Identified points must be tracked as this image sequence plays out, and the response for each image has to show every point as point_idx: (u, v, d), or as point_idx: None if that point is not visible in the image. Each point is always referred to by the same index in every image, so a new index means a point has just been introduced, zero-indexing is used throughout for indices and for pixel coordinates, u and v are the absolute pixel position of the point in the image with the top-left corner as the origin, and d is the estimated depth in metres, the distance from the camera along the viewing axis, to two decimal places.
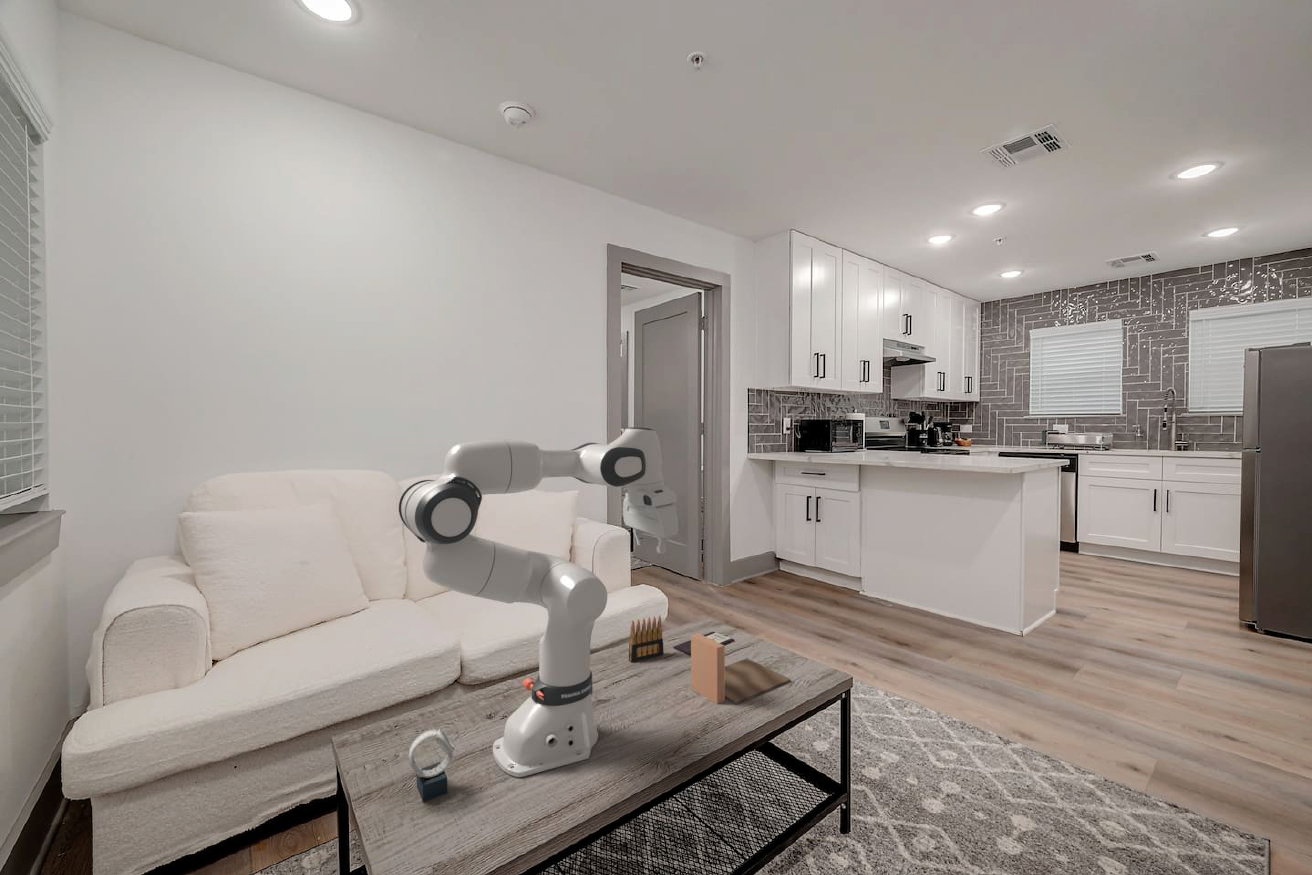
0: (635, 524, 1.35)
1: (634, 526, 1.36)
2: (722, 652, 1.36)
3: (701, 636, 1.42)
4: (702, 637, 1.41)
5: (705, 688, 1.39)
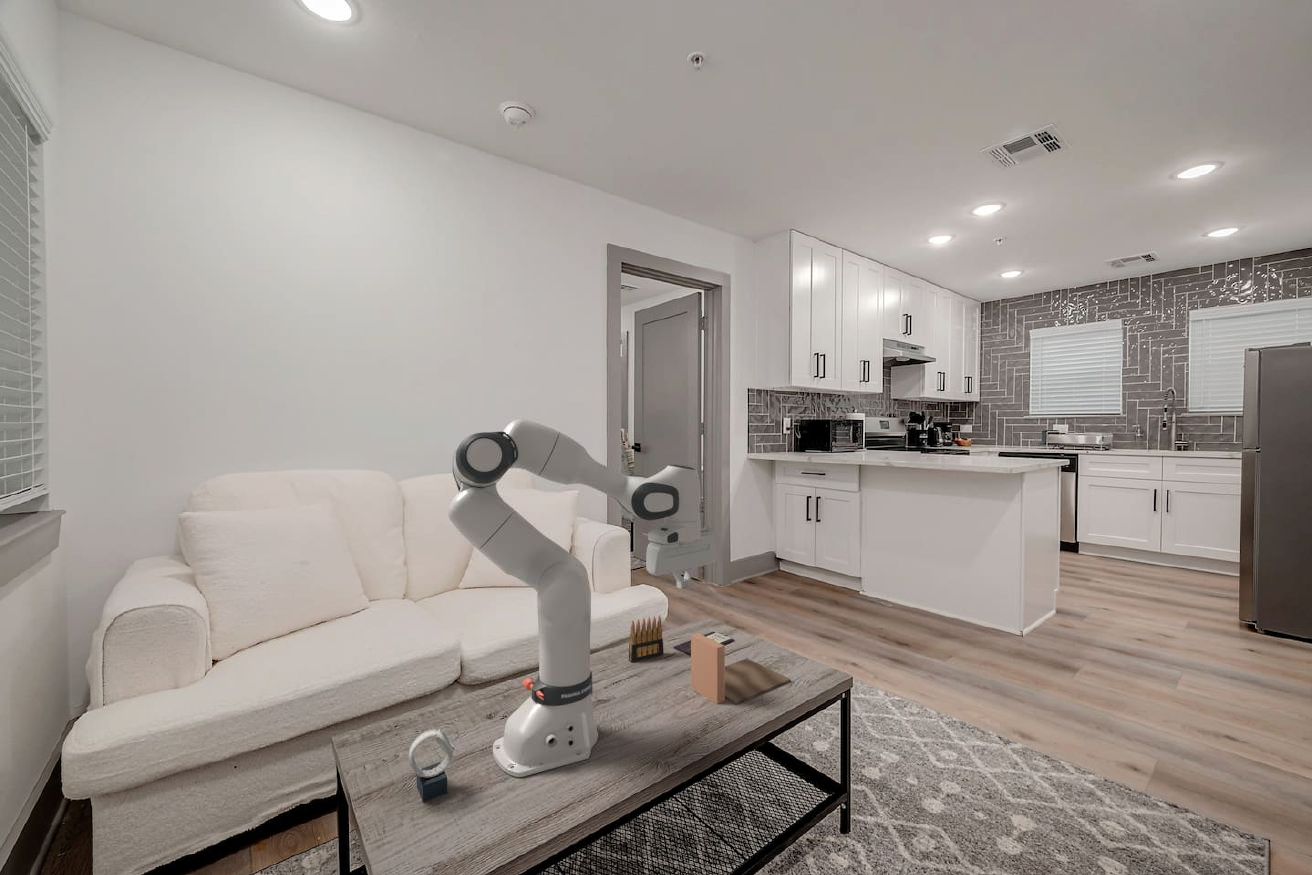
0: None
1: None
2: (722, 652, 1.36)
3: (701, 636, 1.42)
4: (702, 637, 1.41)
5: (705, 688, 1.39)
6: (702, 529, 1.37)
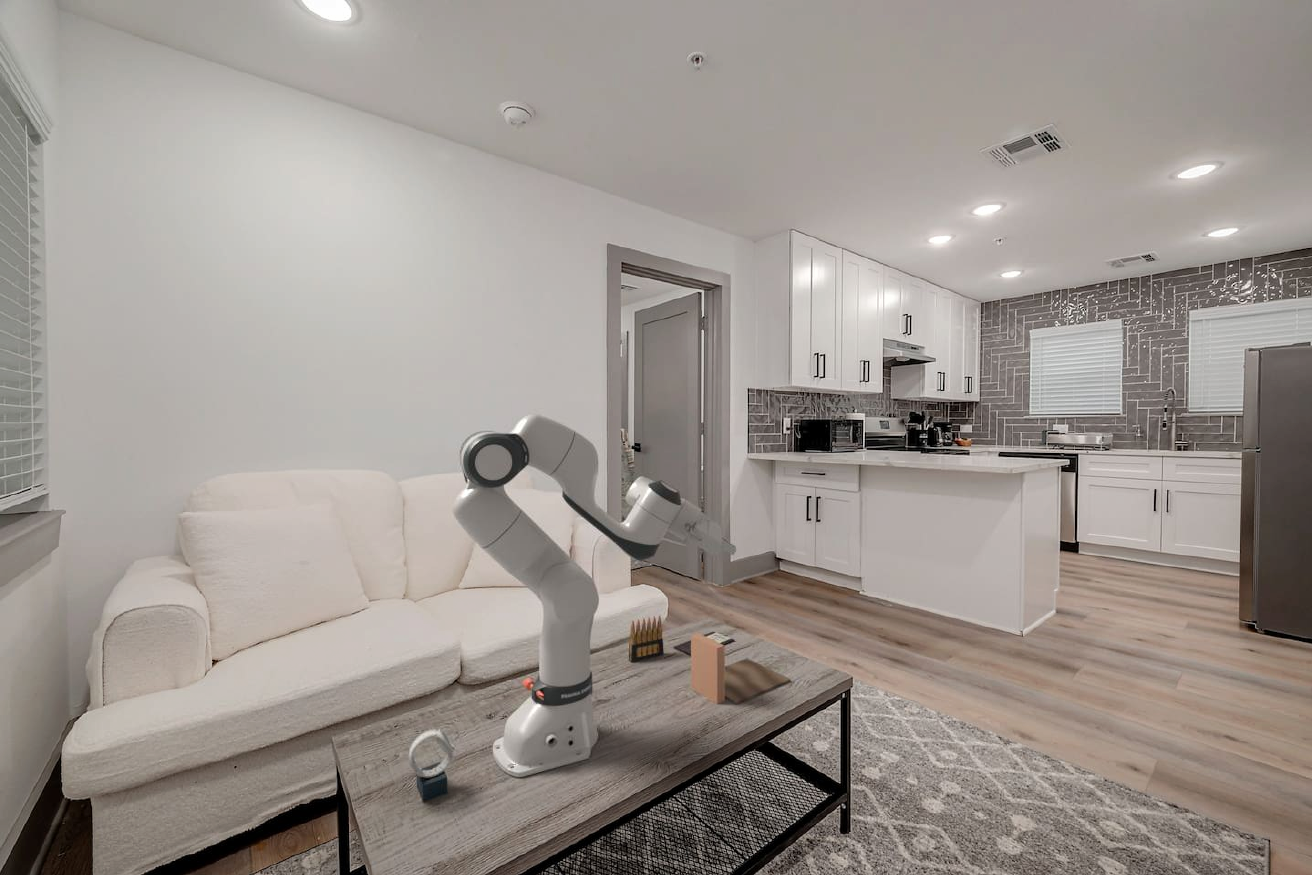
0: (718, 535, 1.31)
1: (720, 537, 1.30)
2: (722, 652, 1.36)
3: (701, 636, 1.42)
4: (702, 637, 1.41)
5: (705, 688, 1.39)
6: None
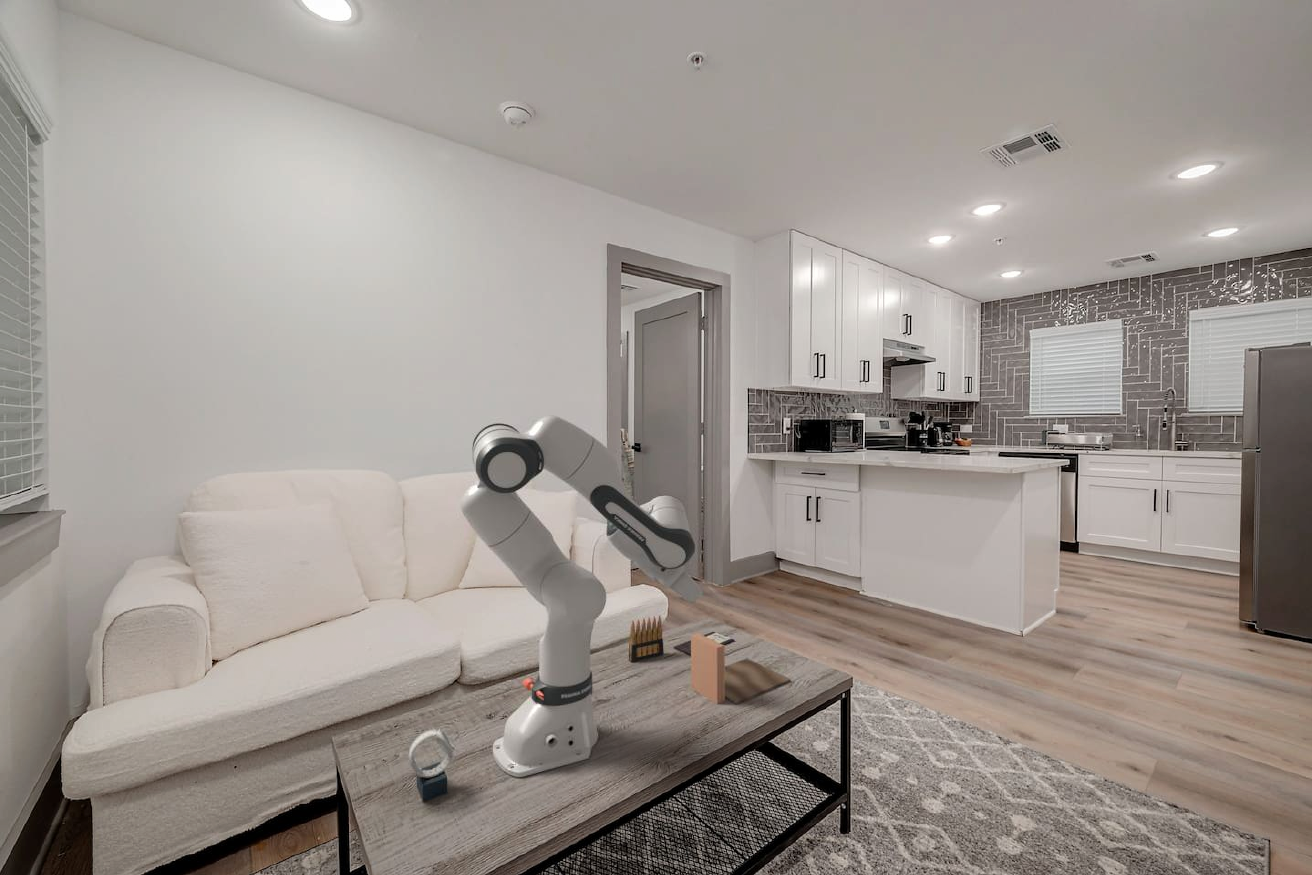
0: None
1: None
2: (722, 652, 1.36)
3: (701, 636, 1.42)
4: (702, 637, 1.41)
5: (705, 688, 1.39)
6: None
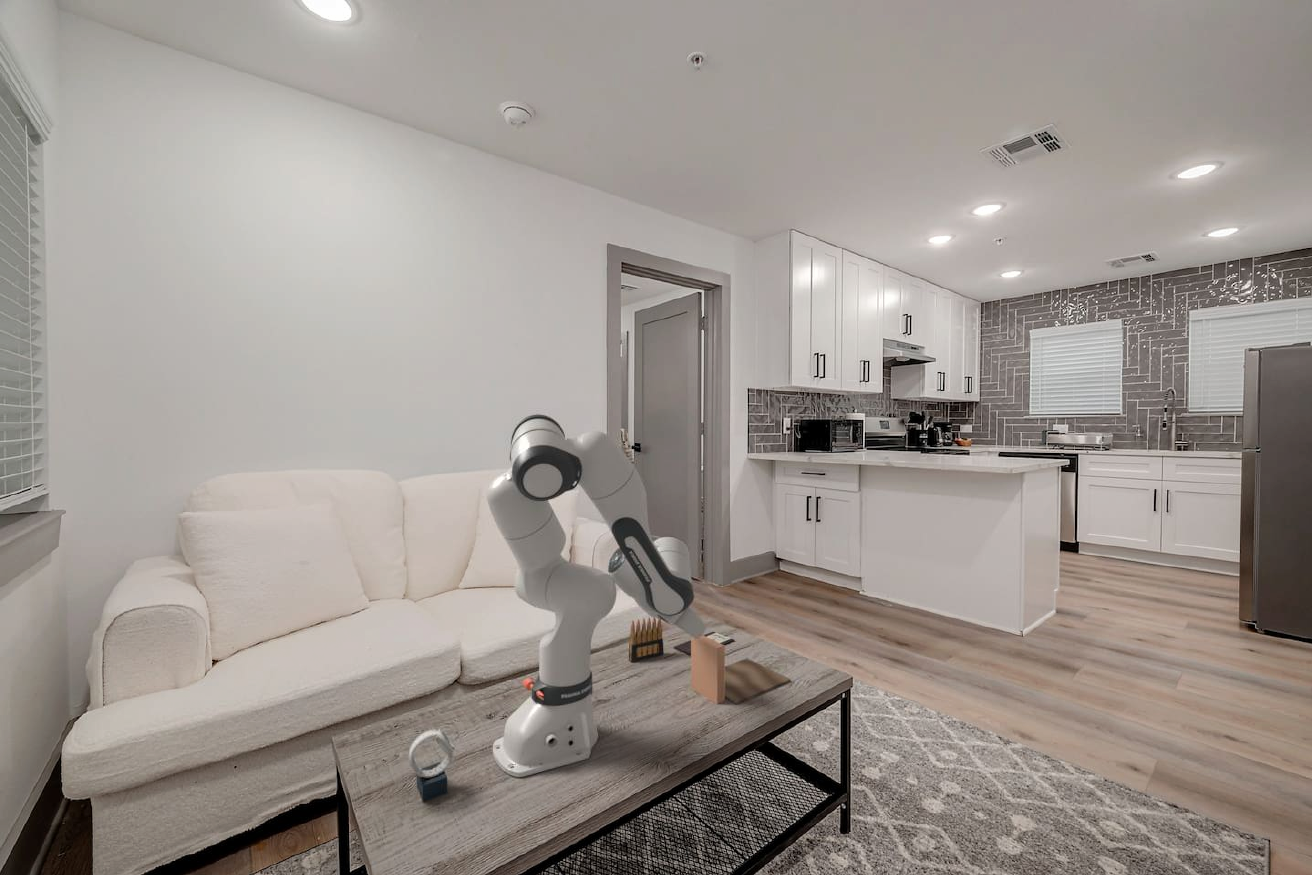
0: None
1: None
2: (722, 652, 1.36)
3: (701, 636, 1.42)
4: (702, 637, 1.41)
5: (705, 688, 1.39)
6: None
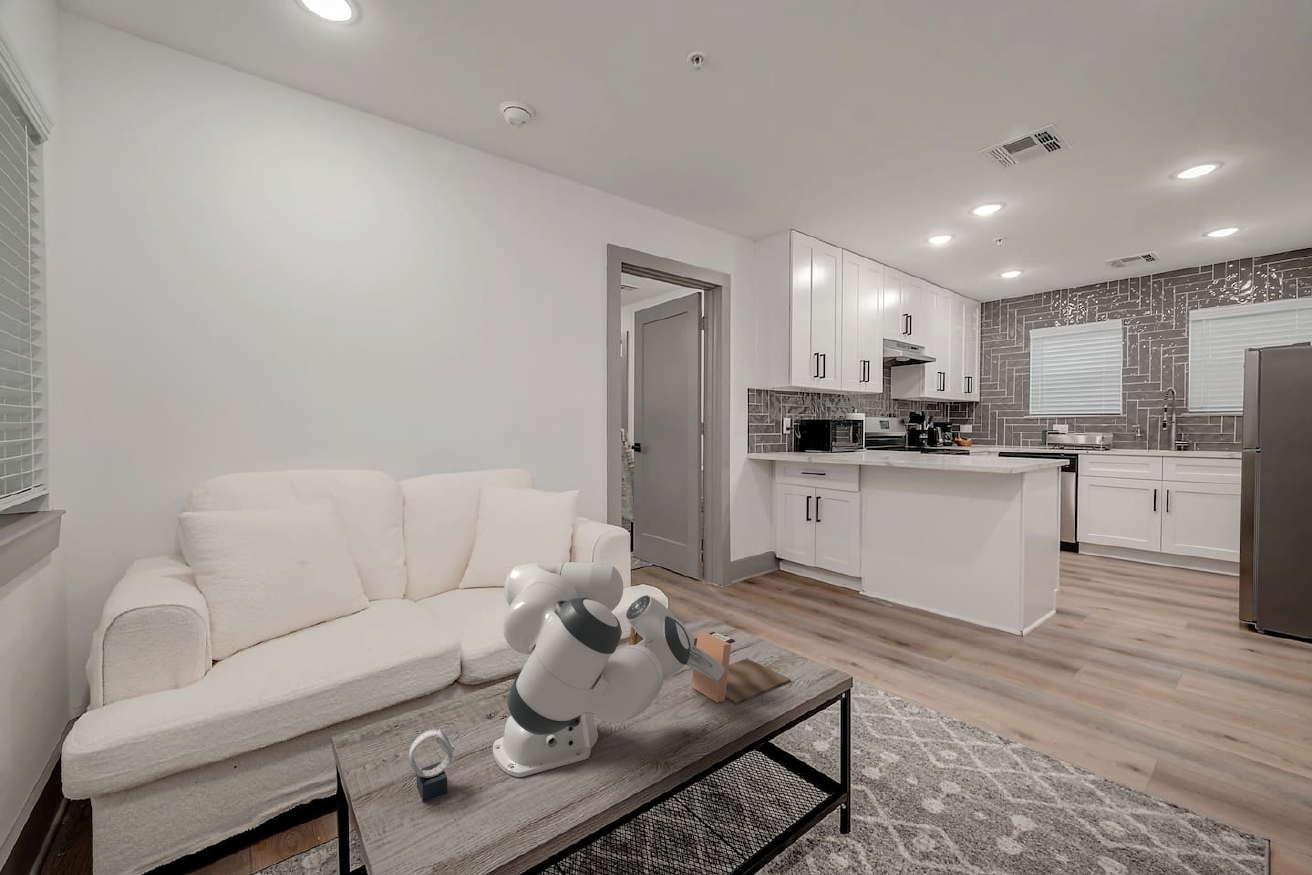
0: None
1: None
2: (728, 651, 1.37)
3: (708, 634, 1.43)
4: (709, 635, 1.42)
5: (706, 686, 1.39)
6: (691, 653, 1.28)
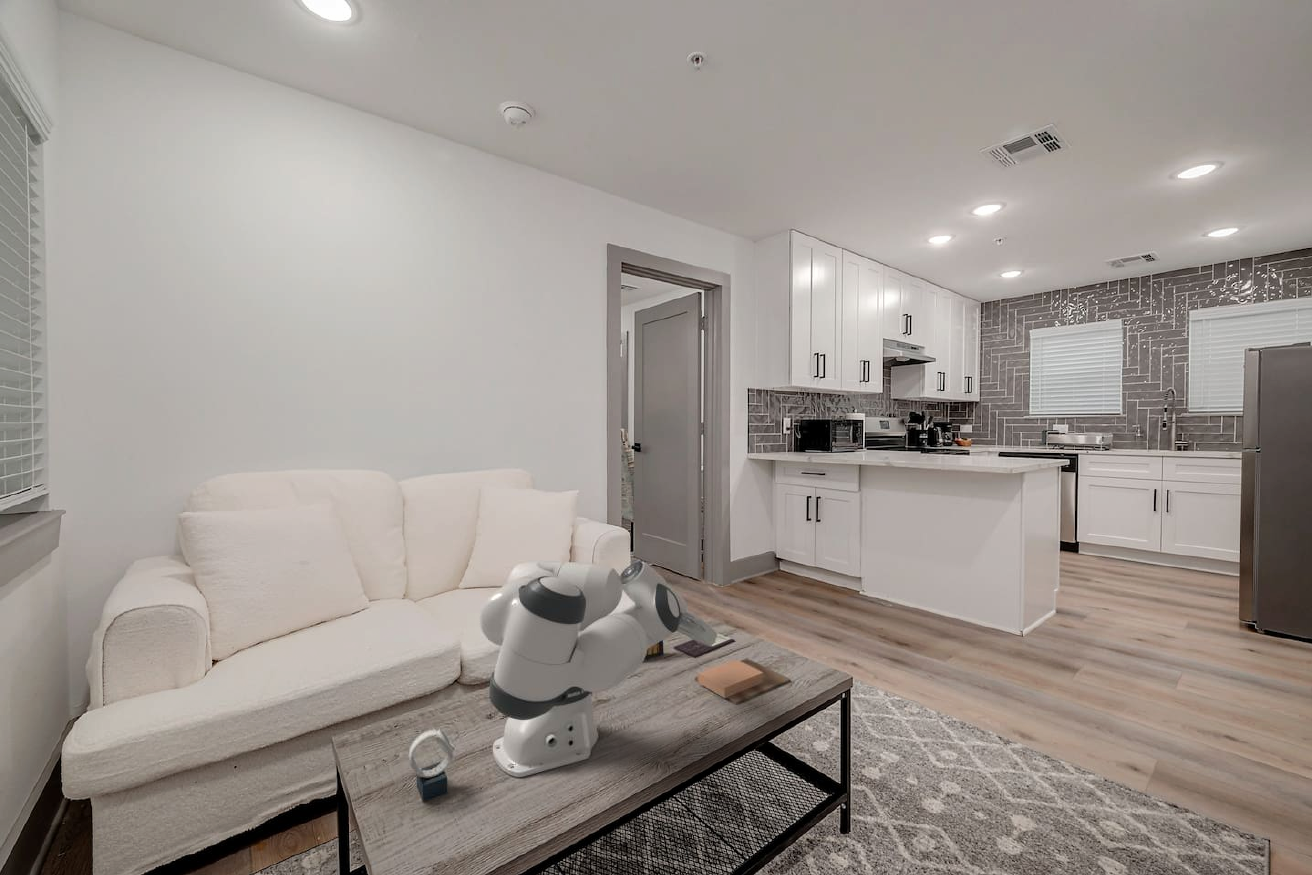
0: None
1: None
2: (758, 681, 1.44)
3: None
4: None
5: (719, 678, 1.41)
6: (684, 618, 1.28)
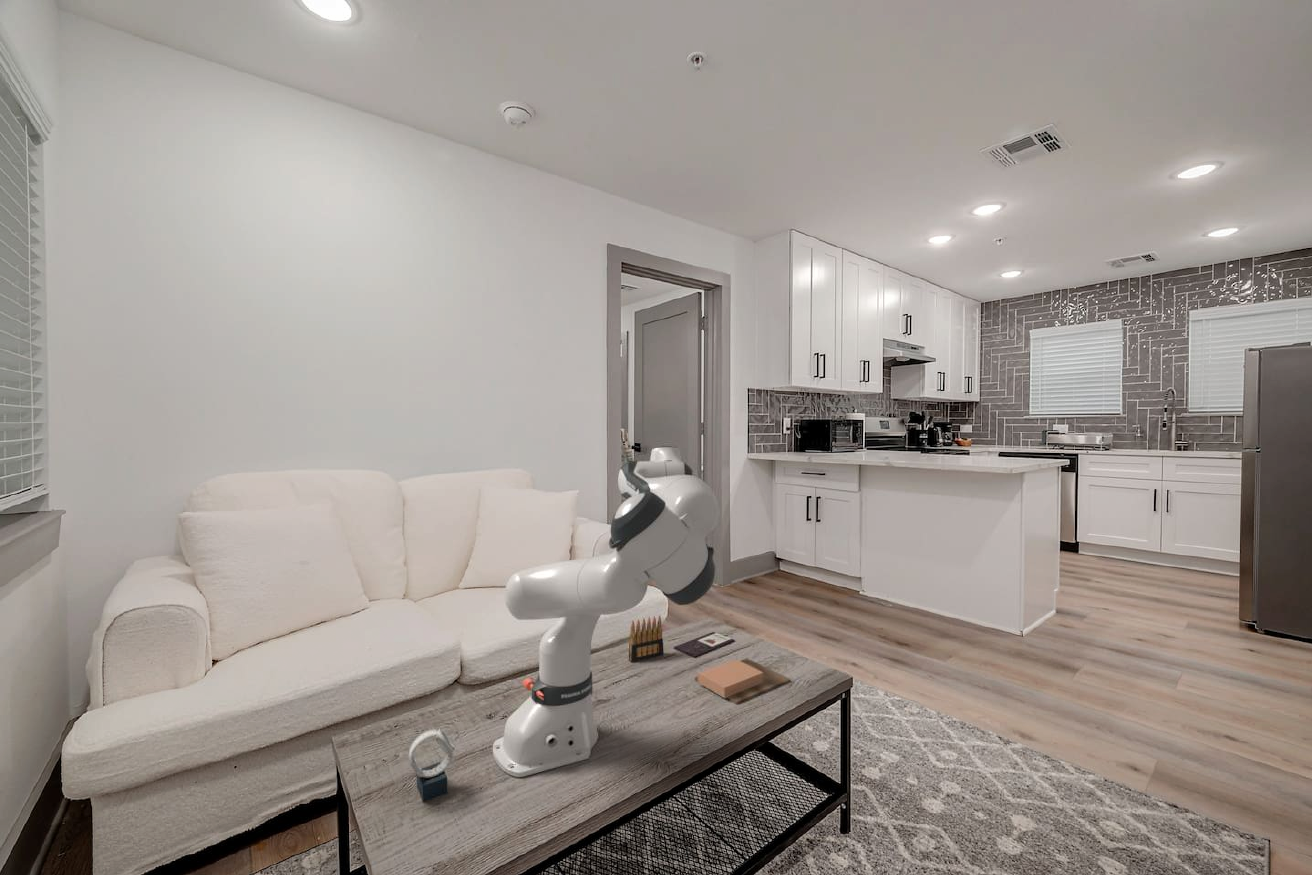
0: None
1: None
2: (758, 681, 1.44)
3: None
4: None
5: (719, 678, 1.41)
6: None
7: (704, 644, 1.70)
